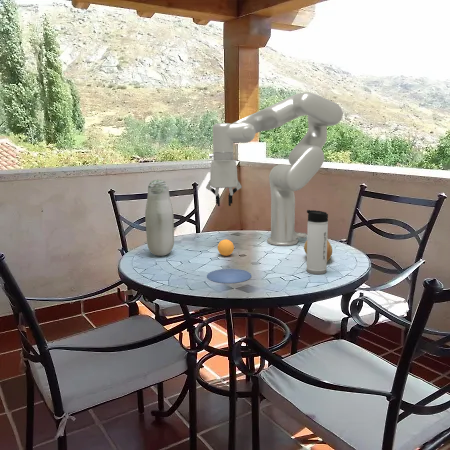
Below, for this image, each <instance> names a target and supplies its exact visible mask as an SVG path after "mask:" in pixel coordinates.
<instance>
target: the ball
mask: <svg viewBox="0 0 450 450" xmlns="http://www.w3.org/2000/svg"><path fill="white" fill-rule="evenodd" d="M234 249H235V246H234V243H233V242H232V241H231V240H229V239H227V238H225V239H222V240H220V241H219V243H218V244H217V251H218V253H219V254H220V255H222V257H223V256H225V257H228V256H230V255H231V254H233V252H234Z"/></svg>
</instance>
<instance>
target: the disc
mask: <svg viewBox="0 0 450 450" xmlns="http://www.w3.org/2000/svg"><path fill="white" fill-rule="evenodd" d="M206 278H207V279H208V280H210V281H211V282H214V283H220V284H237V283H243V282H246V281H248V280H250V279H251V278H252V274H251V273H250V271H247V270H245V269H244V270H243V269H241V268H221V269H215V270H212V271H210V272H208V273H207V275H206Z"/></svg>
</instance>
